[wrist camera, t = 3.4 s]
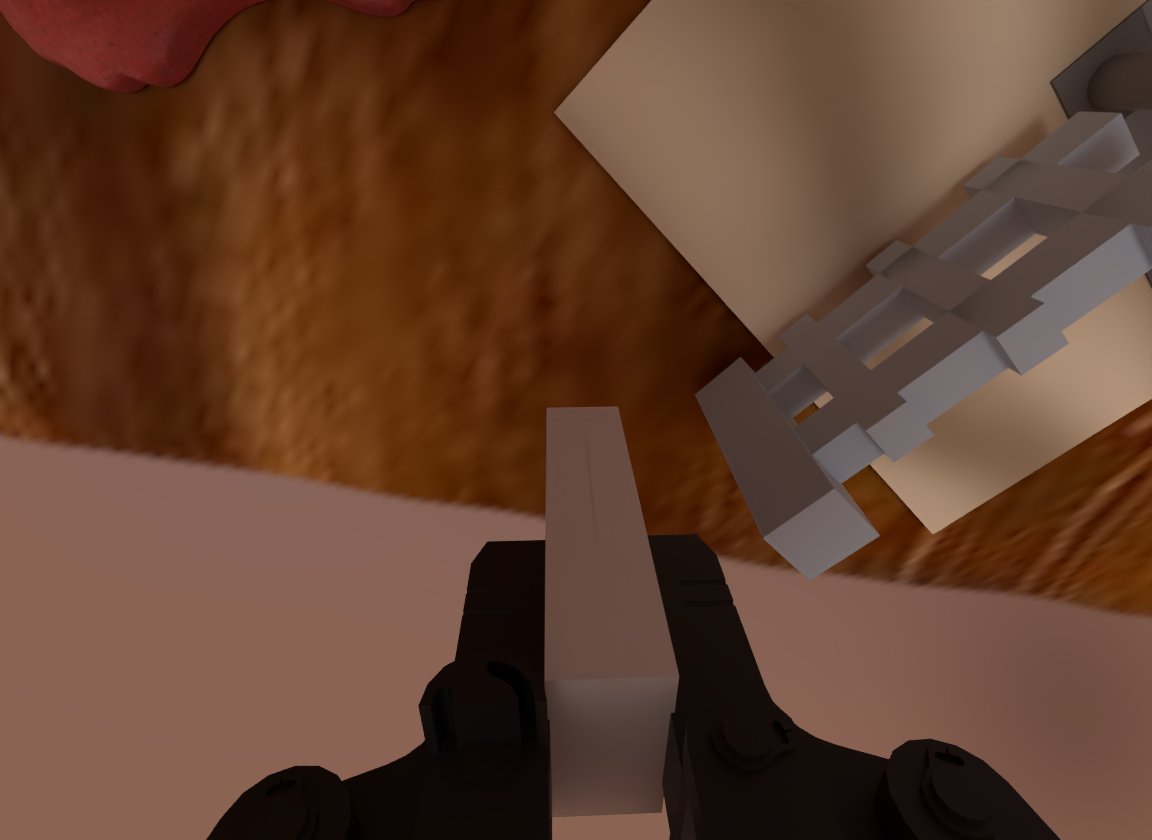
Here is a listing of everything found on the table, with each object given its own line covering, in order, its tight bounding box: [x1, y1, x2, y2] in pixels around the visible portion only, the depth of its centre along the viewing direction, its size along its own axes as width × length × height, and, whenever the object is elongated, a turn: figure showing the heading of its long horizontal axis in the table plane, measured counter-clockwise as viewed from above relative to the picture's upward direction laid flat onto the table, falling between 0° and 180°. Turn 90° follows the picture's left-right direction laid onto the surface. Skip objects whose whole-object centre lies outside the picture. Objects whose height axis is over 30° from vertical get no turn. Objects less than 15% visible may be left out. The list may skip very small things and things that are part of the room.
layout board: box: [554, 0, 1152, 534], centre depth 15 cm, size 22×20×1 cm
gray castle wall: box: [695, 111, 1152, 581], centre depth 14 cm, size 12×2×7 cm, turn 135°
